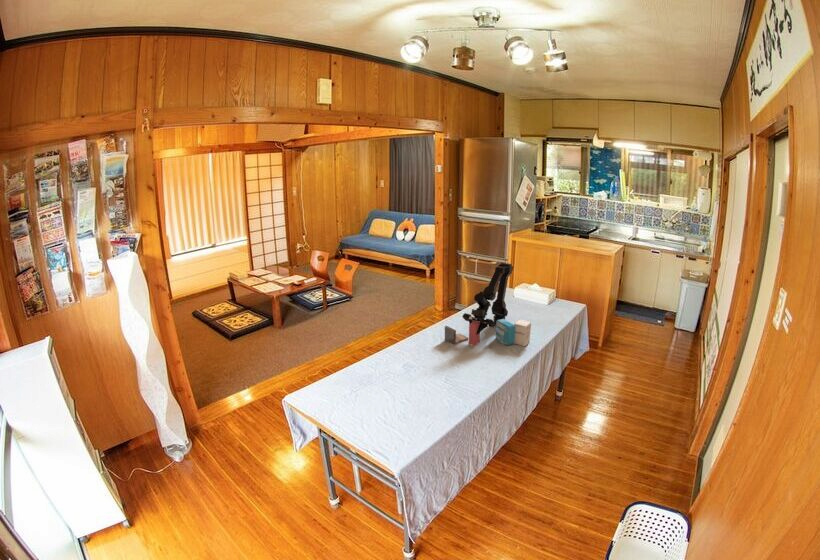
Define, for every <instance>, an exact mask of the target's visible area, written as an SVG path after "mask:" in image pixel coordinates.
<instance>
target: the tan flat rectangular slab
mask: <svg viewBox="0 0 820 560" xmlns="http://www.w3.org/2000/svg"><path fill="white" fill-rule="evenodd" d="M466 341H469V336H466V335H463V334H461V333H456V345H458V344H460V343H463V342H466Z"/></svg>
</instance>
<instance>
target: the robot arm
mask: <svg viewBox="0 0 820 560" xmlns="http://www.w3.org/2000/svg"><path fill="white" fill-rule="evenodd" d="M513 271H514V266H513V265H512V263H510V262H509V263H508V262H501V263H499V264H497V266H495V269H494V273H493V274H492V277H491V279H490V281H489V283H488V285H487V286H486V287H484V289H483V290H482V291H479V293H476V294H475V295H474V297H473V298H474V301H475V303H476V304H477V305H478V307H477V308H476V309H474V308H472V309H471V312H470V313H471V314H470V313H468V312H467V313H466V312H465V313H463V314H462V318H463V319H464V321H466V322H468V324H470V323H472V322H473V321H477V322H480V326H479V328H478V331H477V333H476V334H477V335H478V334H479V333H480V334H481V332H482V331H483V330H485V329H487V328H488V327H489V328H493V329H494V328H495V327H496V321H497V320H501V319H505V320H506V317H508V314H509V310H508V309H507V308H506V307H507V304H506V301H505V298H506V292H507V287H508V281H509V278H510V276H511V275H512V274H513ZM497 287H498V288H497ZM496 290H497V291H496ZM494 300H495V301H494ZM491 301H493V302H492V305H491ZM490 307H491V314H492V315H493V319H491V318H486V317H487V316H488V311H489V308H490Z"/></svg>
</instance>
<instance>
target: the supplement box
mask: <svg viewBox="0 0 820 560" xmlns="http://www.w3.org/2000/svg"><path fill="white" fill-rule="evenodd" d="M513 325H514V326H515V339H514V344H516V345H520V346H523V347H526V346H527V345H528V344H529V343H530V340H531V339H530V337H531V329H532V321H527V320H523V319H518V320H517V321H516V322H515V323H514V324H513Z"/></svg>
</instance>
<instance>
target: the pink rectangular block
mask: <svg viewBox="0 0 820 560" xmlns="http://www.w3.org/2000/svg"><path fill="white" fill-rule="evenodd" d="M468 324H469V323H468ZM479 326H480V322H478V321H473V322H472V323H470V324H469V325H468V345H471V346H477V345H478V344H479V343H480V341H481V332H480V333H479V334H478V335H477V334H476V333H477V331H478V328H479Z"/></svg>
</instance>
